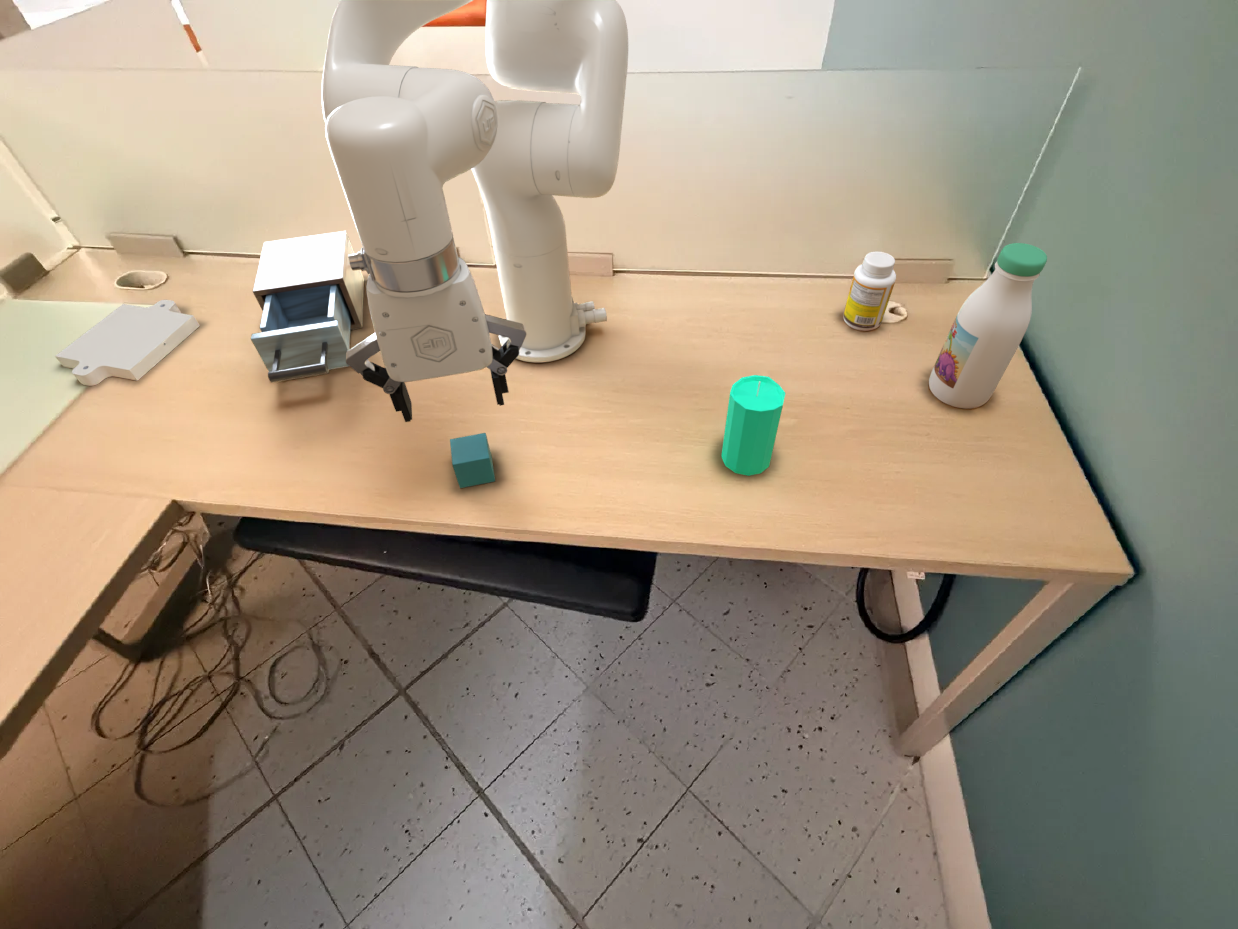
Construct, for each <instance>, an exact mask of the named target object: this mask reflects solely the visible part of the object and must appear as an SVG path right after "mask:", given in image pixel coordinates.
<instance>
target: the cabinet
mask: <svg viewBox="0 0 1238 929" xmlns="http://www.w3.org/2000/svg"><path fill="white" fill-rule="evenodd" d="M352 254H356V253H355V250H354V248H353V244H352V242H351V240H350V237H349V234H348V231H347V230H340V231H333V232H327V233H320V234H319V233H318V234H312V235H307V236H306V235H305V236H298V237H291V238H284V239H283V238H282V239H277V240H269V241H264V242H263V245H262V249H261V254H260V258H259V263H258V267H257V271H256V275H255V279H254V283H253V287H252V294H253V295H254V297H255V299H256V301H257V303H258V305H259V307H260V308H261V311H262V312H263V309H264V304H265V299H266V295H267V294H273V293H280V292H287V291H294V290H300V289H307V288H314V287H320V286H327V285H334V284H339V285H340V287H341V290H342V293H343V295H344V298H345V300H346V303H347V305H348V308H349V310H350V313H351V326H350V331H352V330H359V329H363V320H364V319H363V318H364V317H363V316H364V291H365V290H364V289H365V288H364V286H365V278H364V276H363V271H361V270H356V271H353V270H352V269H351V266H350V263H349V255H352Z"/></svg>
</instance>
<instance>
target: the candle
mask: <svg viewBox="0 0 1238 929" xmlns="http://www.w3.org/2000/svg"><path fill="white" fill-rule="evenodd" d="M785 398H786V391H785V390H784V388H782V386H781V385H780V384H779V383H778V382H776V381H775V379H772V378H771V377H770V376H768V375H758V374H753V375H747V376H743V377H740V378H739V379H737V381H735V382H734V383H733V384H732V385H731V388H730V391H729V396H728V404H727V411H726V418H725V425H724V434H723V440H722V446H721V455H720V458H721V460H722V462H723V464H724V466H725V467H726V468H727V469H729V470H730V471H731V472H733V473H734V474H738V475H743V476H746V477H750V476H756V475H760V474H762V473H763V472H765V471H766V470H767V469H768V468H770V465H771V460H772V456H773V452H774V446H775V443H776V438H777V433H778V429H779V425H780V421H781V415H782V411H783V406H784V403H785Z"/></svg>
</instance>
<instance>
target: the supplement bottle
mask: <svg viewBox="0 0 1238 929" xmlns="http://www.w3.org/2000/svg"><path fill="white" fill-rule="evenodd" d="M895 263H896V259H895V257H894V256H893V255H891V254H890V253H887V252H885V251H871V252H868V253H866V254H865V256H864V259H863V261H862V264H859V265H858V266H857V267H855V270H854V274H853V277H852V280H851V285H850V288H849V291H848V295H847V299H846V303H845V306H844V310H843V313H842V314H843V315H842V318H843V321H844V322H845V324H846V325H848V327H850V328H852V329H854V330H857V331H864V332H865V331H873V330H875V329H877V328H879V327H880V326H881V325H882V323H883V320H884V317H885V314H886V311H887V308H888V304H889V301H890V299H891V296H892V293H893V290H894V286H895V283H896V280H897V272H895V270H894V266H895Z"/></svg>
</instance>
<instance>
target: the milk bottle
mask: <svg viewBox="0 0 1238 929" xmlns="http://www.w3.org/2000/svg"><path fill="white" fill-rule="evenodd" d="M1047 262H1048V255H1047V253H1046V252H1045V251H1044V250H1042V249H1041V248H1040V247H1038V246H1036V245H1033V244H1030V243H1024V242H1013V243H1009V244H1006V245H1004V246H1003V247H1002V249H1001V250H1000V252H999V254H998V257H997V261H996V262H995V264H994V271H993V272H992V273H991V274H990V276H989V277H988V278H987V279H986V280H985V281H984V282H983V283H982V284H980V286H978V287H977V288H976V289H974V290H973V292H971V294H969V295H968V297H967V298H966V299H965V301H964V302H963V303H962V305H961V307H960V308H959V310H958V312H957V315H956V316H955V318H954V320H953V322H952V325H951V327H950V329H949V332H948V334H947V336H946V338H945V341H944V343H943V345H942V347H941V350H940V352H939V354H938V356H937V359H936V361H935V363H934V365H933V368H932V370H931V373H930V375H929V378H928V386H929V389H930V392H931V393H932V395H933V396H934V397H935V398H937V399H938V400H939V401H941V402H943V403H944V404H946V405H949V406H951V407H955V408H958V409H976V408H979V407H981V406H983V405H985V404H986V403H988V401H990V399H991V397H992V395H993V394H994V392H995V390H996V388H997V387H998V385H999V383H1000V382H1001V380H1002V378H1003V376H1004V374H1005V372H1006V370H1007V369H1008V367H1009V365H1010V363H1011V362H1012V359H1013V357H1014V356H1015V354H1016V352H1017V350H1018V348H1019V346H1020V344H1021V342H1022V340H1023V338H1024V336H1025V334H1026V332H1027V331H1028V327H1029V325H1030V322H1031V318H1032V312H1033V310H1032V309H1033V308H1032V307H1033V305H1032V292H1033V286H1034V282H1035V280H1037V279H1038V278H1039V277H1040V276H1041V273H1042V271H1043V270H1044V268H1045V266H1046V264H1047Z"/></svg>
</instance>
